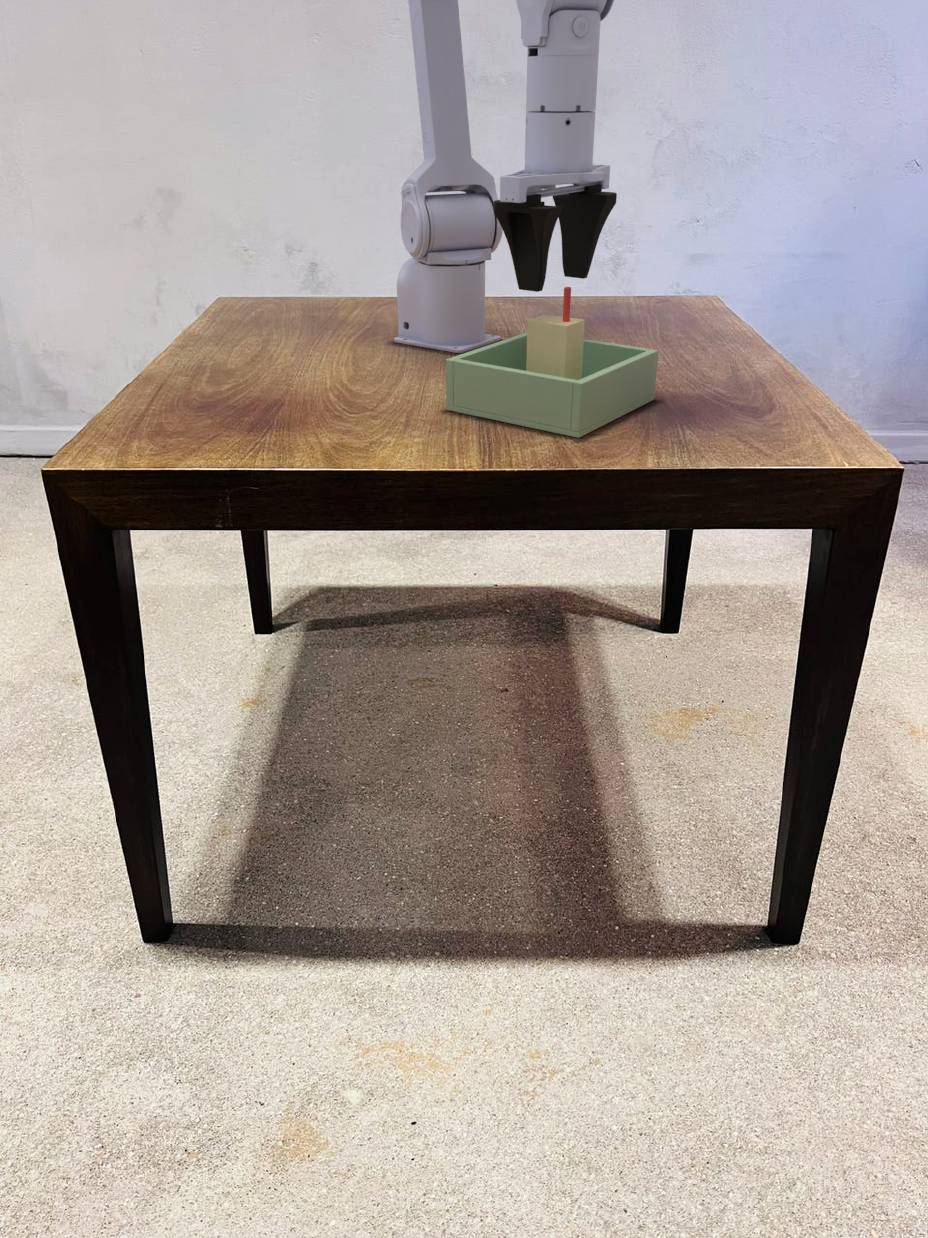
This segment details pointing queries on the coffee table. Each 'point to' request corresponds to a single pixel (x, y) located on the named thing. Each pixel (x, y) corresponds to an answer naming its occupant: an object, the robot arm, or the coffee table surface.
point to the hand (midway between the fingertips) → (553, 283)
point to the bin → (551, 386)
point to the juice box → (556, 343)
